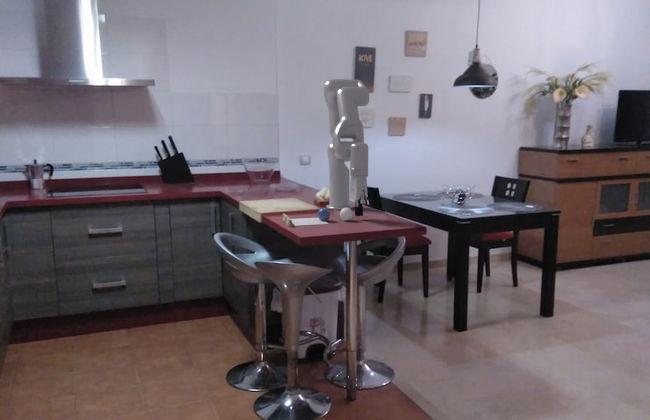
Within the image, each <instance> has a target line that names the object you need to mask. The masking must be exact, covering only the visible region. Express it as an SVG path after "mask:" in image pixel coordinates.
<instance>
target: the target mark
mask: <svg viewBox="0 0 650 420" xmlns="http://www.w3.org/2000/svg"><path fill="white" fill-rule="evenodd" d="M290 219H291V220H292V225H293V226H294V227H301V226H302V227H303V226H321V225H330V222H329V223H328V221H322V220H320V219H319V218H318V217H304V218H290Z"/></svg>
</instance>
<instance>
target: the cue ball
mask: <svg viewBox="0 0 650 420" xmlns="http://www.w3.org/2000/svg"><path fill="white" fill-rule="evenodd" d="M339 211H340V212H339V216H340V218H341V220H342V221H344V222H347V221H348V222H349V221H350V220H352V219H353V217H354V211H353V210H352V208H351V209H350V208H343V209H342V210H339Z"/></svg>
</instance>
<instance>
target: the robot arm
mask: <svg viewBox="0 0 650 420" xmlns="http://www.w3.org/2000/svg"><path fill="white" fill-rule="evenodd" d="M323 85H324V86H323V96H324V99H325V103H326V105H327V109H328V122H329V123H328V125H329V135H330V137H331V138H332V142H331V143H329V144H328V146H327V158H328V165H329V166H328V167H329V169H328V171H329V204H326V207H325V208H327V209H328V210H334V211H335V210H337V211H338V210H339V211H341V210H342V209H343V208H350V209H351V210H352V209H353V205H352V204H351V203H350V199H352V200H353V201H354V216H356V217H363V216H364V204H365V201H366V200H368V199H367V198H368V181H367V179H368V178H367V177H369V145H368V143H366V142H365V137H364V135H365V134H364V131H365V130H364V125H363V122H362V120H360V116H359V115H360V114H359V109H358V107H366V106H367V105H368V104H369V102H370V93H369V90H368V88H367V86H366V85H365V84H364V83H363V82H362V81H361V80H360V79H355V78H353V79H351V78H348V79H346V78H341V79H340V78H333V79H328V80H326V82H324V84H323ZM341 139H344V140H343V141H342V140H341ZM345 139H346V140H347V139H352V140H351V141H350V140H347V141H346V140H345ZM348 162H349V163H350V164H349V165H350V166H349V167H350V168H348V166H347V165H346V163H348ZM349 169H350V170H349Z"/></svg>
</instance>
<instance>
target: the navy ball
mask: <svg viewBox="0 0 650 420" xmlns="http://www.w3.org/2000/svg"><path fill="white" fill-rule="evenodd" d="M331 216H332V215H331V211H330V209H328V208H326V207H321V208H320V209H319V210H318V211H317V218H319V219H320V220H322V221H326V222H328V220H329V219H330V218H331Z"/></svg>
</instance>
